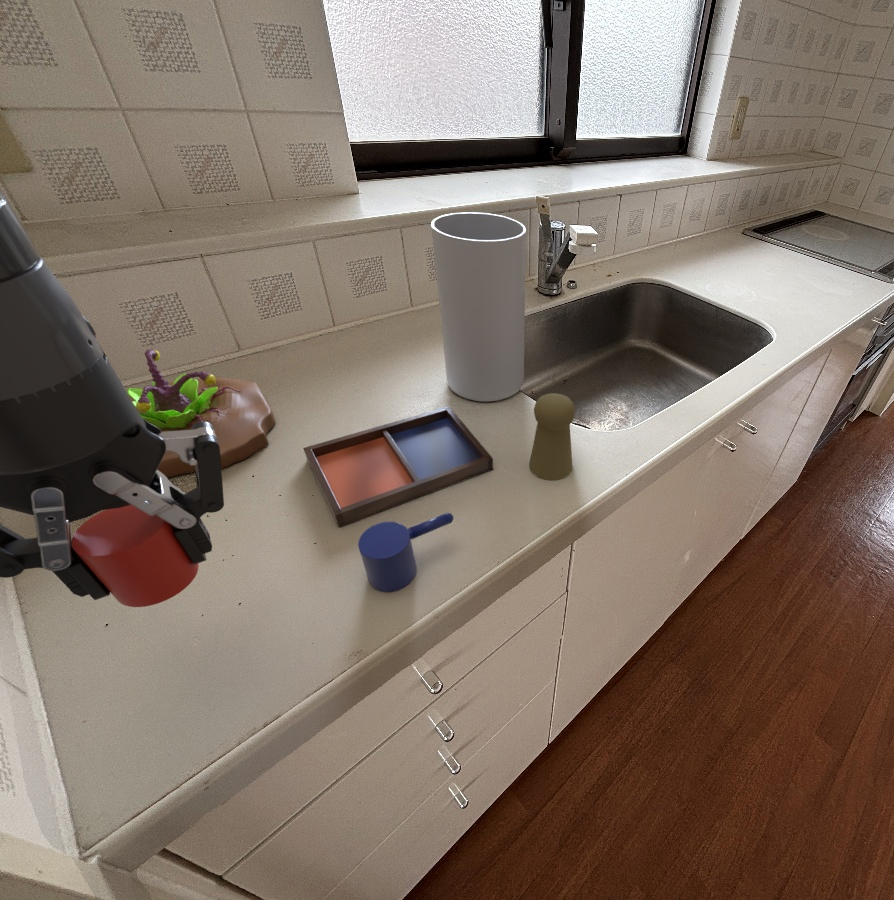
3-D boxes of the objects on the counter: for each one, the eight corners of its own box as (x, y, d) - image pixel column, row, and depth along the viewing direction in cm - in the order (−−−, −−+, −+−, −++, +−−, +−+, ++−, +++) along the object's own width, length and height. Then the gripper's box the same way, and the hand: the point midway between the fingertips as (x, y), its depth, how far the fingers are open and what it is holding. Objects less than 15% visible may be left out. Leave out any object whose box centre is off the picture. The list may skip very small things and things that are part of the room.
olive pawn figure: (545, 486, 66) (549, 419, 59) (520, 460, 69) (521, 394, 62) (581, 469, 69) (588, 404, 62) (555, 446, 72) (560, 382, 65)
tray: (338, 527, 57) (334, 515, 55) (307, 460, 64) (303, 447, 63) (493, 469, 67) (492, 457, 66) (450, 417, 75) (448, 406, 73)
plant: (271, 380, 77) (246, 313, 70) (280, 457, 64) (251, 384, 57) (102, 406, 68) (54, 331, 61) (75, 501, 55) (10, 420, 48)
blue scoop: (377, 600, 50) (367, 566, 47) (362, 567, 53) (351, 533, 50) (465, 559, 55) (462, 526, 52) (447, 531, 58) (443, 498, 55)
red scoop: (203, 586, 36) (170, 536, 32) (116, 619, 33) (70, 569, 30) (186, 504, 41) (156, 454, 38) (110, 527, 39) (70, 475, 35)
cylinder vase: (522, 364, 89) (524, 216, 73) (525, 403, 80) (527, 244, 64) (450, 362, 87) (435, 209, 71) (444, 403, 77) (426, 237, 61)
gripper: (-284, 446, 19) (6, 669, 29) (185, 361, 26) (279, 562, 37) (-217, 357, 23) (15, 580, 34) (169, 306, 30) (258, 501, 41)
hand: (153, 570), depth 35 cm, fingers closed on red scoop, 4 cm apart
